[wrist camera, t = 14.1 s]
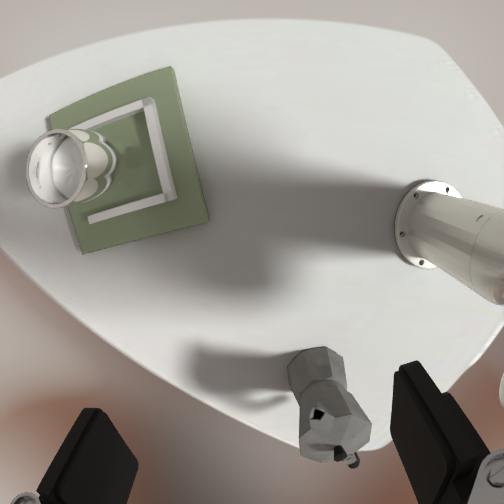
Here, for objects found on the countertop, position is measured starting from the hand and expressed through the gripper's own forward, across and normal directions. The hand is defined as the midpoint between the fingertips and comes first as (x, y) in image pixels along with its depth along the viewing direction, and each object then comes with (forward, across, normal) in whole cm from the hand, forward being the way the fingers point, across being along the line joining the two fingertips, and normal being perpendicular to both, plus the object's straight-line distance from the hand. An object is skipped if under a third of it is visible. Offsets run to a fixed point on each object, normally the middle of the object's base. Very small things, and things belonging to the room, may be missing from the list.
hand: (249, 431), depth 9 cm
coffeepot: (+33, -5, +25) cm, 42 cm away
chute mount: (+32, +14, -12) cm, 37 cm away
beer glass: (+31, +14, -11) cm, 36 cm away
